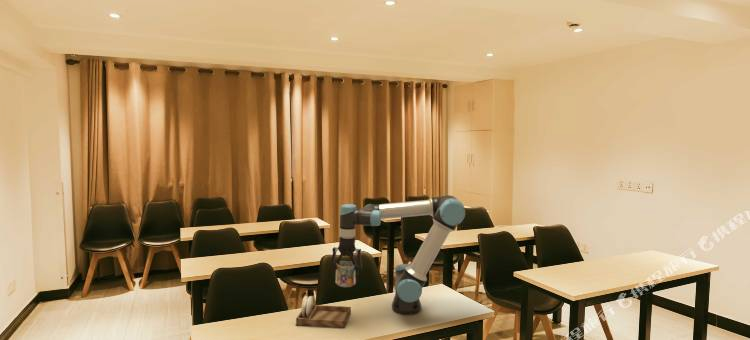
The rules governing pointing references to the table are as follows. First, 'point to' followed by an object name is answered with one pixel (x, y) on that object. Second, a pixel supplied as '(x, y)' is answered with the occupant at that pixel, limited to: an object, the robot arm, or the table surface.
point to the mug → (345, 273)
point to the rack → (325, 317)
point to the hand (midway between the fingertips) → (345, 282)
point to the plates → (307, 306)
